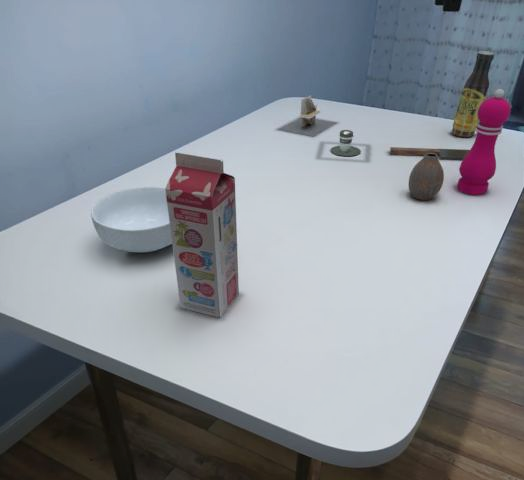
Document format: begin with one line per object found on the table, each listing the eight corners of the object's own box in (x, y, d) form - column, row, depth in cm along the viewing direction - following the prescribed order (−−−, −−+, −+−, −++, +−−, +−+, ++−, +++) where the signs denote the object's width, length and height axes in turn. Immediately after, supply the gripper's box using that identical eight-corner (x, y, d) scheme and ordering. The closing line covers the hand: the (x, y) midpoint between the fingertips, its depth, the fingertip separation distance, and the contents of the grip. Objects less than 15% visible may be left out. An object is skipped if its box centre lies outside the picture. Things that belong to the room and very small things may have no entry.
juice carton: (201, 285, 79) (187, 144, 65) (238, 294, 77) (233, 151, 63) (180, 307, 75) (161, 161, 60) (220, 318, 73) (210, 169, 58)
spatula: (472, 152, 126) (473, 147, 125) (477, 160, 121) (478, 155, 121) (388, 149, 128) (389, 144, 127) (390, 157, 123) (391, 152, 122)
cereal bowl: (93, 230, 93) (84, 194, 89) (178, 215, 98) (174, 180, 94) (106, 274, 82) (97, 235, 77) (203, 255, 86) (200, 218, 82)
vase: (410, 187, 109) (418, 146, 103) (441, 193, 107) (452, 152, 101) (402, 199, 104) (410, 157, 98) (435, 205, 102) (445, 163, 96)
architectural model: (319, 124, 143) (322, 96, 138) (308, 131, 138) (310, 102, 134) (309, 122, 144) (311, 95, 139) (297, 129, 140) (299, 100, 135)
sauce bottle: (446, 134, 137) (466, 51, 124) (458, 129, 140) (478, 48, 127) (467, 140, 133) (490, 55, 120) (479, 135, 136) (502, 52, 123)
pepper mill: (491, 197, 105) (524, 94, 92) (456, 194, 106) (483, 92, 93) (486, 184, 111) (516, 85, 97) (452, 181, 111) (478, 83, 98)
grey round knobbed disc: (368, 145, 130) (371, 125, 127) (367, 161, 121) (370, 140, 118) (322, 142, 131) (324, 122, 128) (318, 158, 123) (320, 137, 119)
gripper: (504, -110, 82) (474, 14, 93) (480, -105, 95) (457, 3, 106) (457, -110, 83) (434, 13, 94) (440, -105, 96) (421, 2, 107)
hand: (446, 8), depth 100 cm, fingers open, 9 cm apart
